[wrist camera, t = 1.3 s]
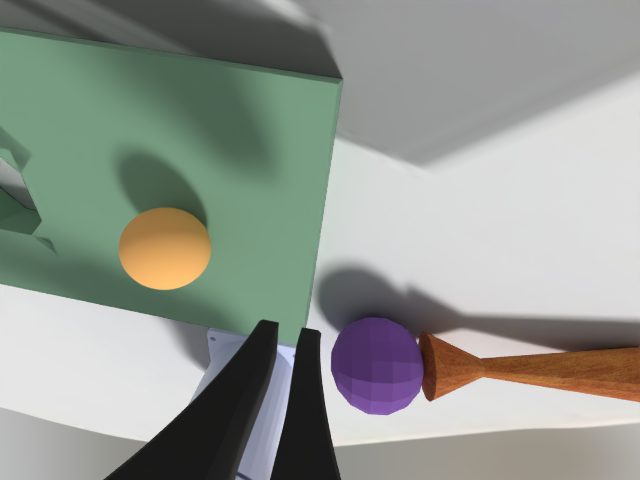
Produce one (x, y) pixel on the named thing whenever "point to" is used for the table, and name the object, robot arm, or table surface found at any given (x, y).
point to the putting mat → (164, 175)
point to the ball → (164, 248)
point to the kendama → (462, 368)
